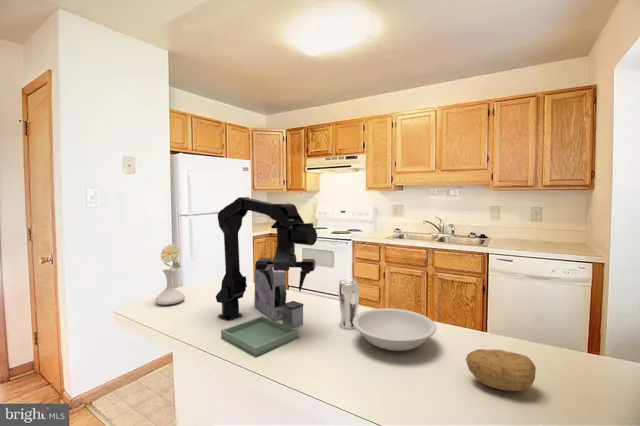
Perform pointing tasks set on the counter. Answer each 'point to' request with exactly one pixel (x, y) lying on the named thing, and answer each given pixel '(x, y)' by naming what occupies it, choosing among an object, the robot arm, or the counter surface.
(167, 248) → the flower in vase
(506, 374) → the potato
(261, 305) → the cake pan box
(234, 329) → the tray
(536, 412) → the counter surface
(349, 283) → the beer glass
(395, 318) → the soup bowl
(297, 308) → the capped grey block
